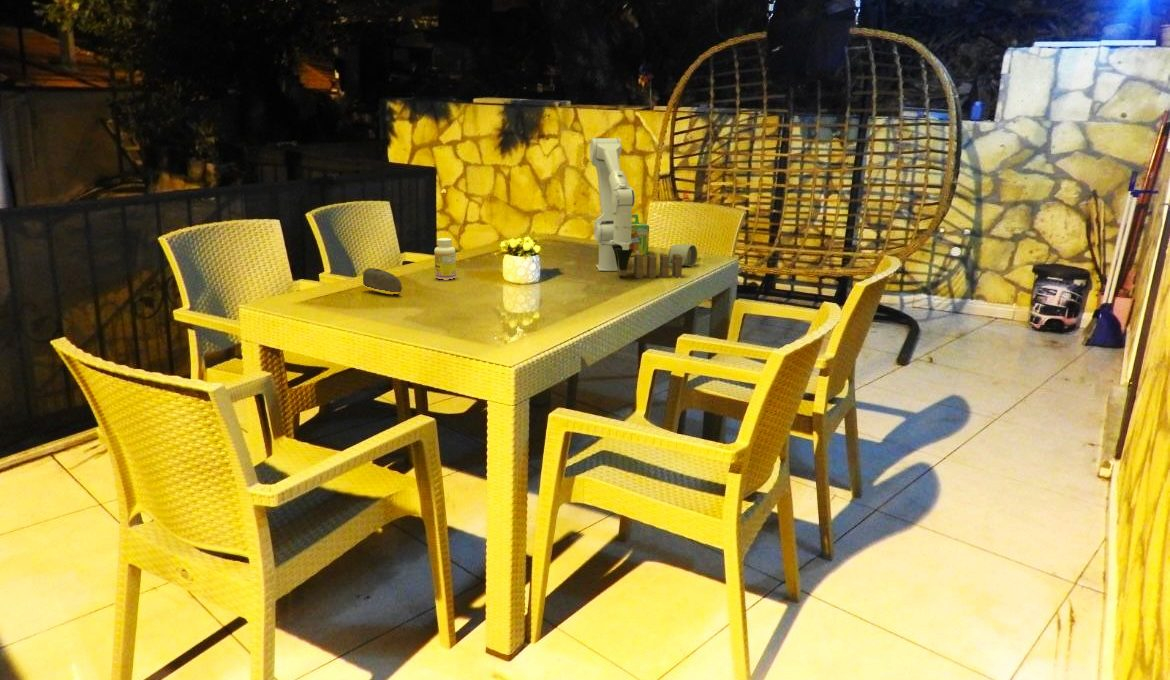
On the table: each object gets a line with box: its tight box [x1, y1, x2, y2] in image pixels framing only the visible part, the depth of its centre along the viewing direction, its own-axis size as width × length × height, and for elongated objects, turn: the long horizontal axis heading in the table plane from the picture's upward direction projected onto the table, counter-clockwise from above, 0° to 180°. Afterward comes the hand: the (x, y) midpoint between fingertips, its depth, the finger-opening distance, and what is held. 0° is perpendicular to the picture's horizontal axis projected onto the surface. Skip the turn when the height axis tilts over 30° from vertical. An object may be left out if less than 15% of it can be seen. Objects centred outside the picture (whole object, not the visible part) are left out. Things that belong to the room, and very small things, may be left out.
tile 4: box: [659, 253, 670, 279], centre depth 278 cm, size 5×2×7 cm, turn 7°
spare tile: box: [617, 262, 627, 277], centre depth 276 cm, size 5×2×7 cm, turn 7°
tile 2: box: [633, 255, 644, 278], centre depth 277 cm, size 5×2×7 cm, turn 7°
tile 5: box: [671, 254, 683, 279], centre depth 279 cm, size 5×2×7 cm, turn 7°
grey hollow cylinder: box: [668, 243, 698, 268], centre depth 296 cm, size 11×8×8 cm
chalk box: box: [629, 214, 650, 257], centre depth 317 cm, size 9×9×15 cm
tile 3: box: [646, 253, 657, 279], centre depth 278 cm, size 5×2×7 cm, turn 7°
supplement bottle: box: [433, 237, 457, 280], centre depth 272 cm, size 7×7×13 cm
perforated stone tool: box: [362, 267, 403, 293], centre depth 251 cm, size 15×5×7 cm, turn 51°
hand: (621, 268), depth 277 cm, fingers closed on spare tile, 5 cm apart
